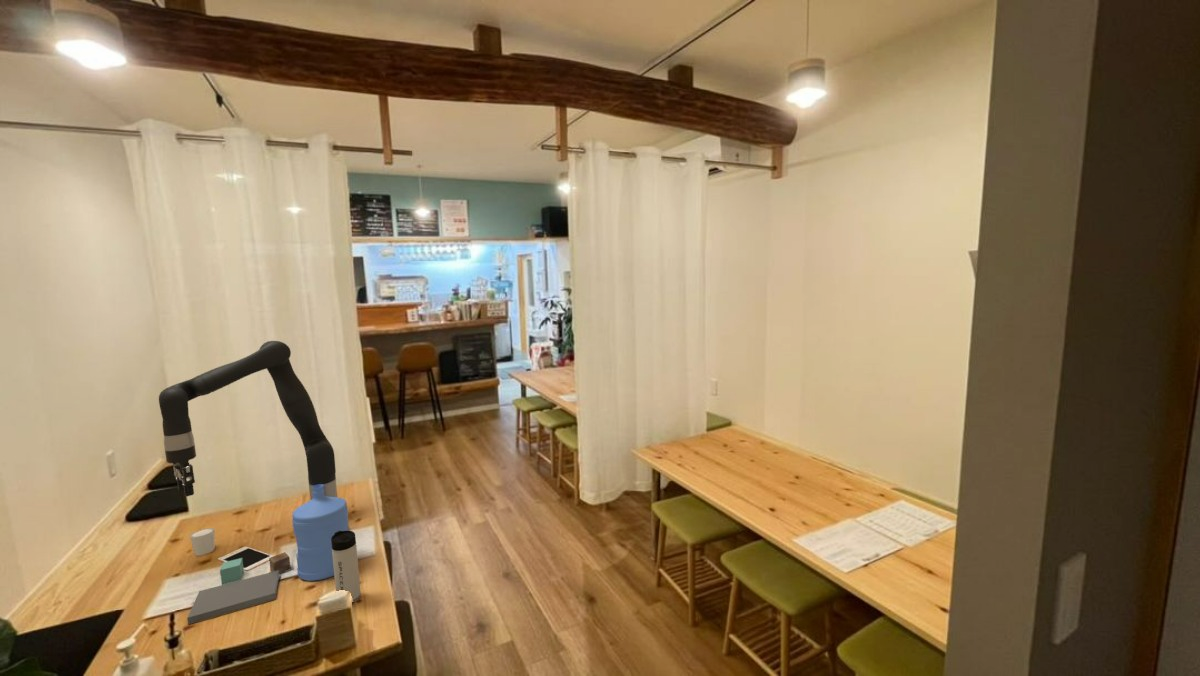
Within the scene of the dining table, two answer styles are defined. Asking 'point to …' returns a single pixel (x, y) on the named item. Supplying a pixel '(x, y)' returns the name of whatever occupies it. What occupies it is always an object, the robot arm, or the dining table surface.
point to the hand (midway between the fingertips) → (186, 492)
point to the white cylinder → (203, 541)
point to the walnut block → (280, 563)
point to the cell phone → (247, 557)
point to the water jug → (318, 533)
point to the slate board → (234, 596)
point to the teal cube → (231, 571)
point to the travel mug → (346, 563)
